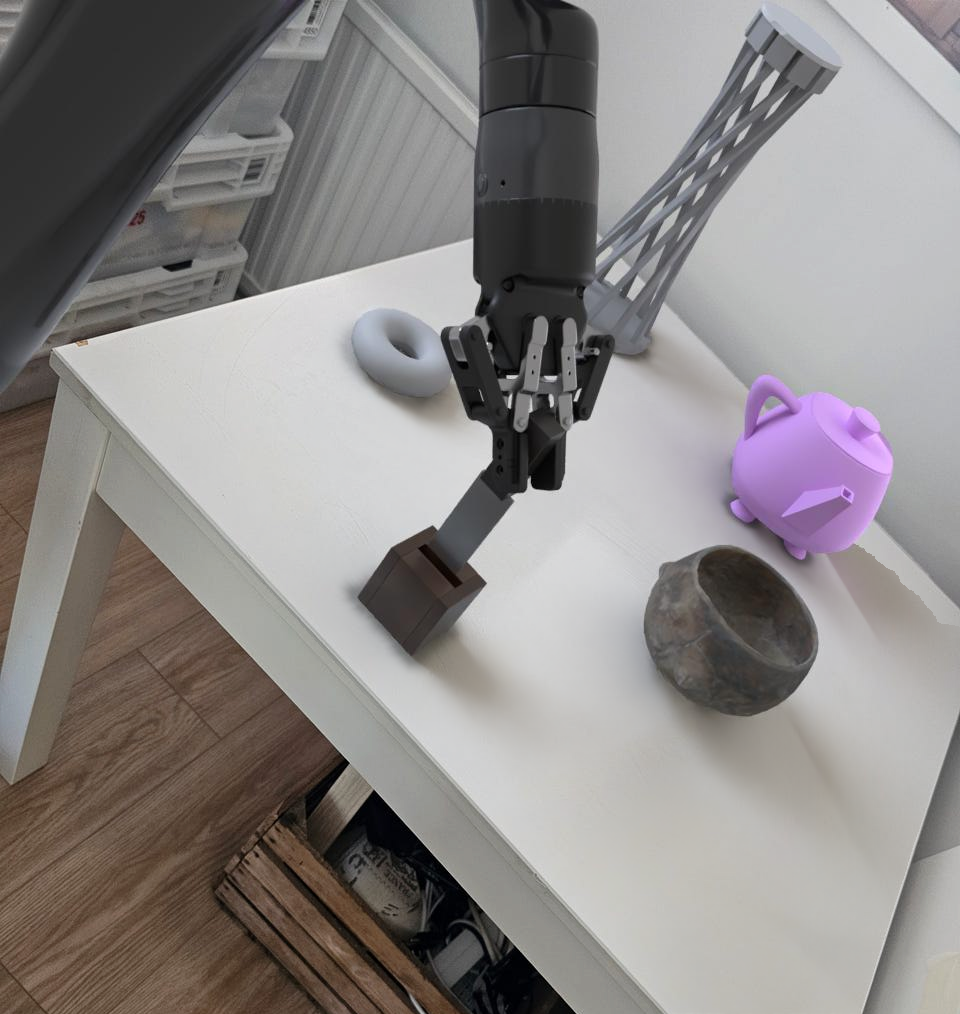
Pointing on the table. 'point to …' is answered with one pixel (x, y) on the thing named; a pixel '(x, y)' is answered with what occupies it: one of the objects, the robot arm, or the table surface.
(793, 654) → the bowl
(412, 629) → the knife block
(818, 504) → the teapot
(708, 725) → the table surface
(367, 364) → the donut
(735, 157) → the gray lattice tower
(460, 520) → the knife
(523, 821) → the table surface
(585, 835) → the table surface
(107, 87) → the robot arm
